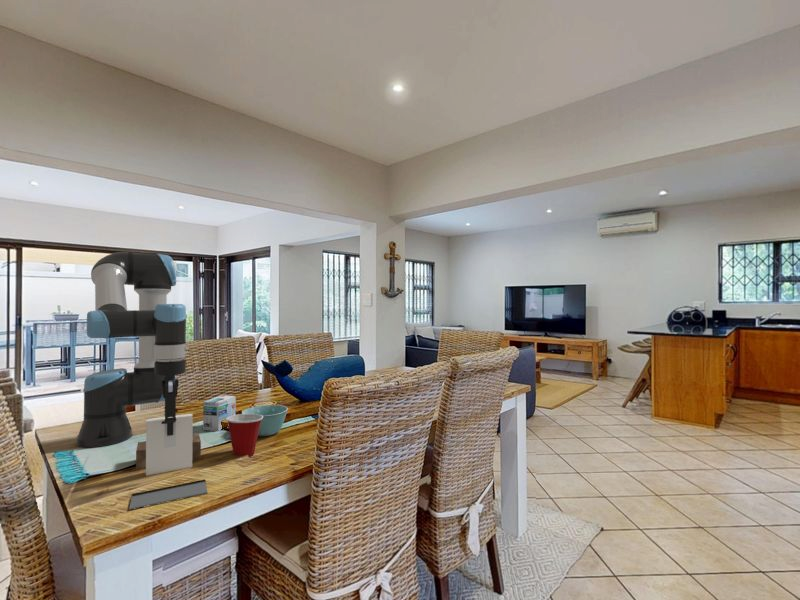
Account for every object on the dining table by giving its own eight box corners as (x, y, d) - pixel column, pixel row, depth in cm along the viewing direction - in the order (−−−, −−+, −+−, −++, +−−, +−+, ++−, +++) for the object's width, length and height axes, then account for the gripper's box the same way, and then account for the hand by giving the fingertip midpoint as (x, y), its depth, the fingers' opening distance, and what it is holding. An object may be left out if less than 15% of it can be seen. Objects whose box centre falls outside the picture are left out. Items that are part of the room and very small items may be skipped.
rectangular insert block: (145, 477, 106) (146, 421, 106) (146, 474, 108) (146, 419, 108) (192, 469, 112) (192, 415, 112) (191, 465, 114) (192, 413, 114)
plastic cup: (270, 451, 126) (270, 413, 126) (244, 464, 116) (244, 423, 116) (244, 446, 130) (245, 409, 130) (217, 458, 120) (217, 418, 120)
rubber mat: (129, 510, 90) (129, 508, 90) (135, 476, 108) (135, 475, 108) (207, 493, 98) (207, 491, 98) (201, 464, 116) (201, 463, 116)
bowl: (233, 433, 143) (233, 410, 143) (272, 423, 155) (273, 402, 155) (255, 443, 133) (256, 418, 133) (296, 432, 145) (296, 409, 145)
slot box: (135, 473, 110) (136, 451, 110) (137, 462, 117) (137, 442, 117) (200, 461, 118) (200, 441, 118) (198, 452, 125) (198, 433, 125)
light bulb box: (218, 432, 144) (218, 402, 144) (202, 431, 145) (202, 401, 145) (236, 423, 155) (236, 395, 155) (220, 422, 156) (221, 394, 156)
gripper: (187, 363, 103) (186, 451, 103) (184, 354, 121) (183, 428, 121) (153, 366, 99) (152, 457, 99) (155, 355, 117) (154, 432, 117)
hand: (169, 441), depth 110 cm, fingers open, 8 cm apart
